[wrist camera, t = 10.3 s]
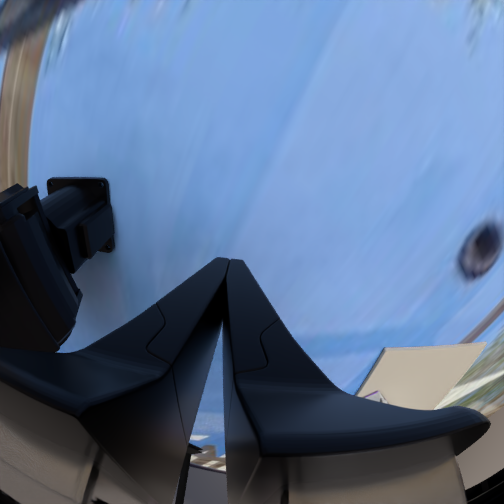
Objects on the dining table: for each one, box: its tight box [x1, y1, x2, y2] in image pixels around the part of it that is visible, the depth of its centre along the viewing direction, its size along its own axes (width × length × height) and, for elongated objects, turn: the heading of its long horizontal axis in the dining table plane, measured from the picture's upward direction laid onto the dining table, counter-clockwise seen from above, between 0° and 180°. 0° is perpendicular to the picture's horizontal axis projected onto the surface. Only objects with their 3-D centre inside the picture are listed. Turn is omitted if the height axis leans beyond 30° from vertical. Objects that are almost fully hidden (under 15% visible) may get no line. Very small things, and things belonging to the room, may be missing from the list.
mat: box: [355, 342, 487, 410], centre depth 33 cm, size 18×20×1 cm
